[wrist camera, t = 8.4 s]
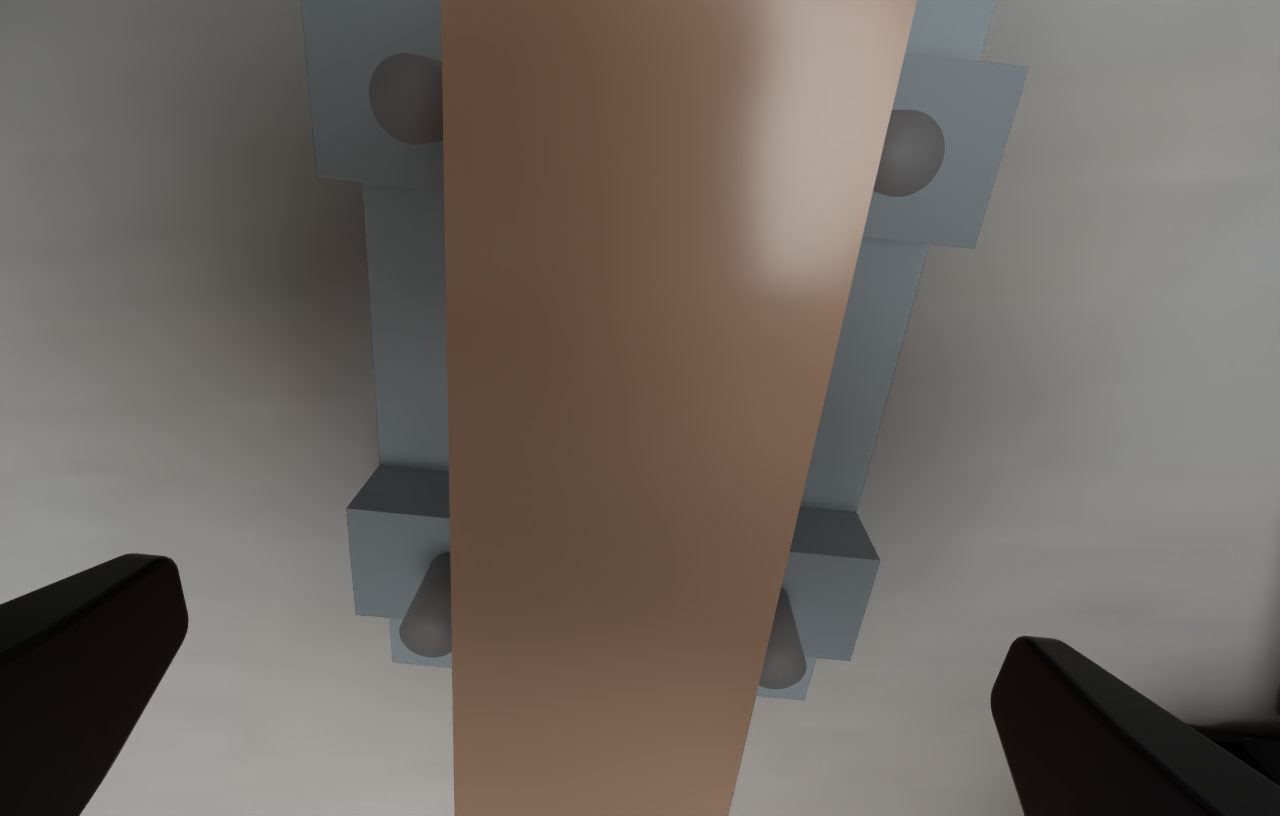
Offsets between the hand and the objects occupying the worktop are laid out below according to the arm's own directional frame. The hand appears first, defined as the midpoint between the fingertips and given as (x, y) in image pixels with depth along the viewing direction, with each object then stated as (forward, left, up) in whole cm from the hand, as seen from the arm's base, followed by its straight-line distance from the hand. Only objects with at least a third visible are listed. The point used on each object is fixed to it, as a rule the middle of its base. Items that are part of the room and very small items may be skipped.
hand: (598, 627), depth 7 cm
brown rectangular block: (0, 0, -7) cm, 7 cm away
